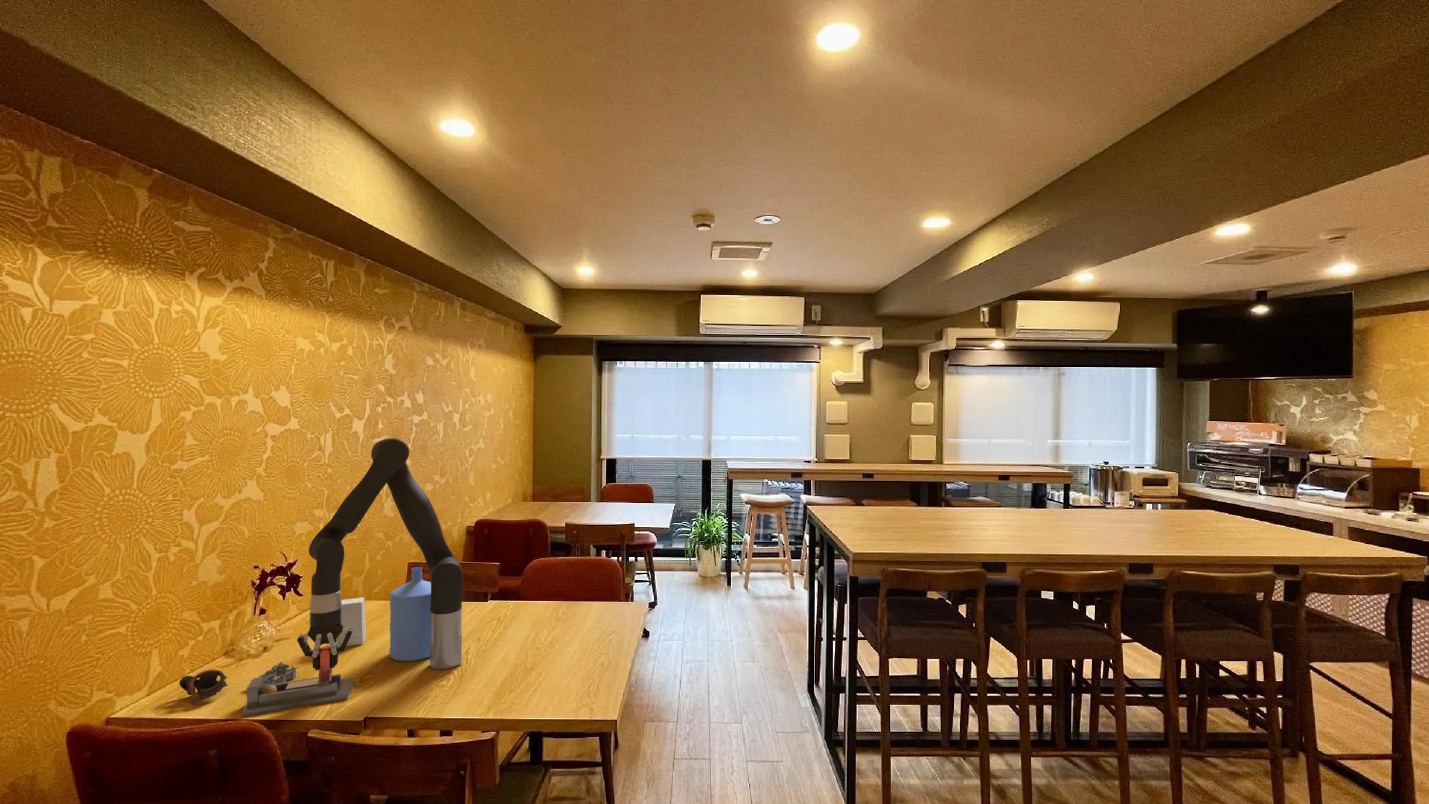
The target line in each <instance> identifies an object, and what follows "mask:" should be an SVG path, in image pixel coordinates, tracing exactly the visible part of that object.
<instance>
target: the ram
mask: <svg viewBox="0 0 1429 804" xmlns="http://www.w3.org/2000/svg"><path fill="white" fill-rule="evenodd" d="M331 656H332V651H331V648H330V645H328V646H322V647H320V649H319V670H318V677H319V678H317V679H310V680H304V681H297V682H290V683H289V684H288V685H287V687H286V690H293V689H299V688H305V687H312V686H318V685H325V684H331V680H332V675H333V668H331Z"/></svg>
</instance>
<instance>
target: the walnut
mask: <svg viewBox="0 0 1429 804" xmlns="http://www.w3.org/2000/svg"><path fill="white" fill-rule="evenodd" d="M273 692H277V688H276V686H274V685H267V686H265V687H264V688H263V689H262V691H261V694H267V693H273Z"/></svg>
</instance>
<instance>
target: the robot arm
mask: <svg viewBox="0 0 1429 804" xmlns="http://www.w3.org/2000/svg"><path fill="white" fill-rule="evenodd" d="M370 453H371V454H370V456H371V460H372V463H371V465H370V467H369V469H368V470H367V472H366V473H365V474H364V476H363V477H362V479H361V480H360V481H359V482H358V484H357V485H356V486H355V487H354V488H353V489H352V490H351V491H350V492H349V493H348V495H347V496H346V497H345V498H344V499H343V500H342V502H341V504H339V505H340V506H339V507H338V508H337V510H336V511H335V513H334V514H333V516H331V517H332V518H331V519H330V520H329V521H328V522H327V523H326V524H325V525H324V526H323V528H322V529H320V531H318V532H317V534H316V535H315V536H314V537H313V539H312V540H311V542H310V544H309V546H308V547H309V548H308V554H309V557H311V558H312V559H313V560H315V561H316V566H315V572H314V573H313V574H312V577H311V583H310V585H311V587H310V588H311V590H310V592H311V593H310V601H309V630H308V631H307V632H305V633H304V634H299V636H298V637H297V638H296V641H297V643H298V646H299V647H300V649H301V651H302V653H303V655H304V656H305V657H307V658H308V657H311V658H312V669H313V670H315V671H319V649H320V648H321V646H322V645H324V644H325V645H326V644H327V645H328V644H329V646H330V648H331V651H332V656H331V668H332V669H335V667H336V666H338V663H339V653H341V652H342V653H343V652H344V651H345V649H346V647H347V646H346V645H347V643H348V641H349V639H350V636H351V634H352V632H353V629H352V628H350V629H346V628H343V626H342V624H341V600H342V592H341V583H342V582H341V574H342V570H343V565H344V561H345V547H344V545H343V543H342V541H343V540H345V537H346V536H347V535H349V534H352V533H354V531H356V529H357V528H358V527H359V525H360V523H361V522H362V520H363V519H364V517H365V515H366V514H367V513H368V511H369V509H370V508H371V506H372V505H373V503H374V502H375V500H376V498H377V497H378V495H379V494H380V493H381V491H382V490H383V489H384V488H385V486H386V485H387V487H388V488H389V491H390V495H391V496H392V499H393V501H394V504H395V506H396V509H397V511H398V514H399V515H400V517H401V519H402V522H403V524H404V527H405V528H406V530H407V532H408V533H409V535H410V536H411V538H412V539H413V540H414V542H415V543H416V544H417V546H418V548H419V549H420V551H421V553H422V554H423V557H424V559H425V563H426V565H427V568H428V571H429V576H430V582H431V603H430V657H429V667H430V668H431V669H433V670H447V669H450V668H451V669H452V668H454V667H457V666H461V665H462V659H463V658H462V657H463V655H462V651H463V650H462V649H463V648H462V647H463V646H462V645H463V643H462V642H463V640H462V639H463V637H462V636H463V635H462V634H463V632H462V631H463V630H462V626H463V625H462V619H463V617H462V615H463V614H462V613H463V611H462V608H463V607H462V606H463V598H464V597H463V596H464V593H463V592H464V570H463V567H462V566H461V564H460V562H459V561H458V559H457V558H456V557H455V556H454V554H453V552H452V550H451V548H450V547H449V545H448V544H447V541H446V540H445V536H444V535H443V534H444V533H443V530H442V526H441V523H440V521H439V518H438V516H437V513H436V511H435V508H434V506H433V505H432V503H431V500H430V499H429V497H428V495H427V494H426V492H425V491H424V490H423V489H422V488H421V486H420V485H419V483H418V482H417V481H416V480H415V479H414V477H413V475H412V474H411V471H410V469H409V466H408V464H407V460H408V459H409V457H410V448H409V445H407V443H406V442H405V441H404V440H402V439H400V438H395V437H394V438H391V437H390V438H384V439H381V440H378V441H377V442H376V443H375V444H374V445H373V446H372V449H371V452H370ZM341 632H342V633H343V637H345V638H344V641H343V643H342V645H341V646H339V647H338V645H337V637H338V636H339V635H340V633H341ZM309 639H311V640H312V641H313V642H314V645H313V649H312V648H311V647H310V645H309V643H308V640H309Z"/></svg>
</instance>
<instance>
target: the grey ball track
mask: <svg viewBox="0 0 1429 804" xmlns="http://www.w3.org/2000/svg"><path fill="white" fill-rule="evenodd" d="M317 678H319V676H317V677H310V678H305V679H304V678H303V679H296V680H291V681H290V680H288V681H286V682H283V683H276V684H269V685H274V686H276V688H277V692H273V693H267V694H261V691H262V689H263V688H264V677H259V678H257V677H253V678H252V679H251V680H252V681H250V683H249V684H248V685H247V687H246V705H245V707H244V708H243V709H242V717H249V716H255V715H261V714H267V713H273V712H279V711H280V712H281V711H285V710H292V709H296V708H297V707H298V708H302V707H301V706H304V707H307V706H306V705H310V706H315V704H316V705H321V704H320V703H322V704H327V703H326V702H328V703H333V702H339V701H345V699H347V700H349V697H350V694H351V692H352V689H353V685H354V682H355V681H354V677H348V678H342V674H341V673H337V674H332V680H331V684H325V685H318V686H312V687H305V688H299V689H293V690H286V687H287V685H288V684H289V683H290V682H297V681H304V680H310V679H317ZM266 686H267V685H266ZM291 708H292V709H291Z"/></svg>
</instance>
